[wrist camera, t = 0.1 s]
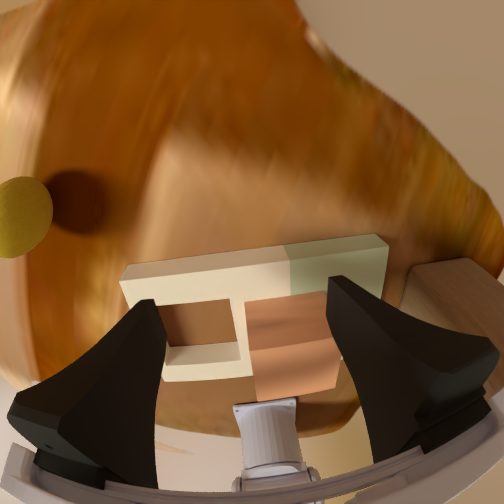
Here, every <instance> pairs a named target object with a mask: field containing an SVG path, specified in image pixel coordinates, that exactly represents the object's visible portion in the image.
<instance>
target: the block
mask: <svg viewBox="0 0 504 504" xmlns="http://www.w3.org/2000/svg"><path fill="white" fill-rule="evenodd" d="M326 303H327V298H326V296H325V294H324V292H323V290H322V291H316V292H310V293H303V294H297V295H290V296H284V297H277V298H269V299H262V300H255V301H247V302H244V307H245V317H246V326H247V335H248V345H249V353H250V359H251V365H252V371H253V377H254V383H255V389H256V395H257V400H258V402H259V401H267V400H274V399H280V398H286V397H292V396H298V395H303V394H308V393H313V392H318V391H323V390H327V389H331V388H335V385H336V380H337V375H338V371H339V366H340V361H341V353H340V351H339V349H338V347H337V345H336V343H335V341H334V338H333V336H332V334H331V331H330V328H329V325H328V322H327V318H326Z"/></svg>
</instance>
